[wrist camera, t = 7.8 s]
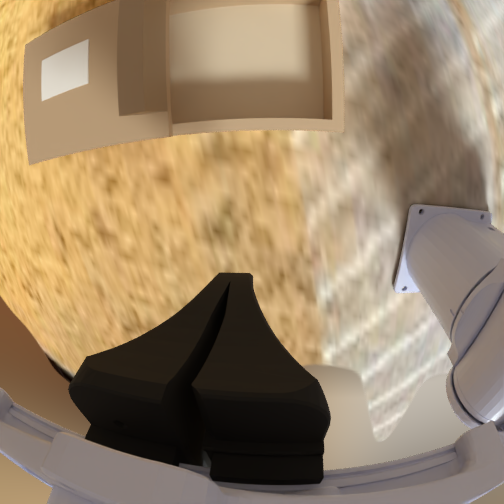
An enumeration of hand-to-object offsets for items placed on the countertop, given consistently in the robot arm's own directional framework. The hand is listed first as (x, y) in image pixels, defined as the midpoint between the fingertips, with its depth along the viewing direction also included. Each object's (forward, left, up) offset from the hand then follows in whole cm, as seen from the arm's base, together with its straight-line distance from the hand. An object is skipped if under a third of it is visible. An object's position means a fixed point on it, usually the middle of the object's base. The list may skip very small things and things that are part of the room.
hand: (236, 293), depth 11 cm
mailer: (0, -11, -10) cm, 15 cm away
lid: (+10, -11, -7) cm, 16 cm away
